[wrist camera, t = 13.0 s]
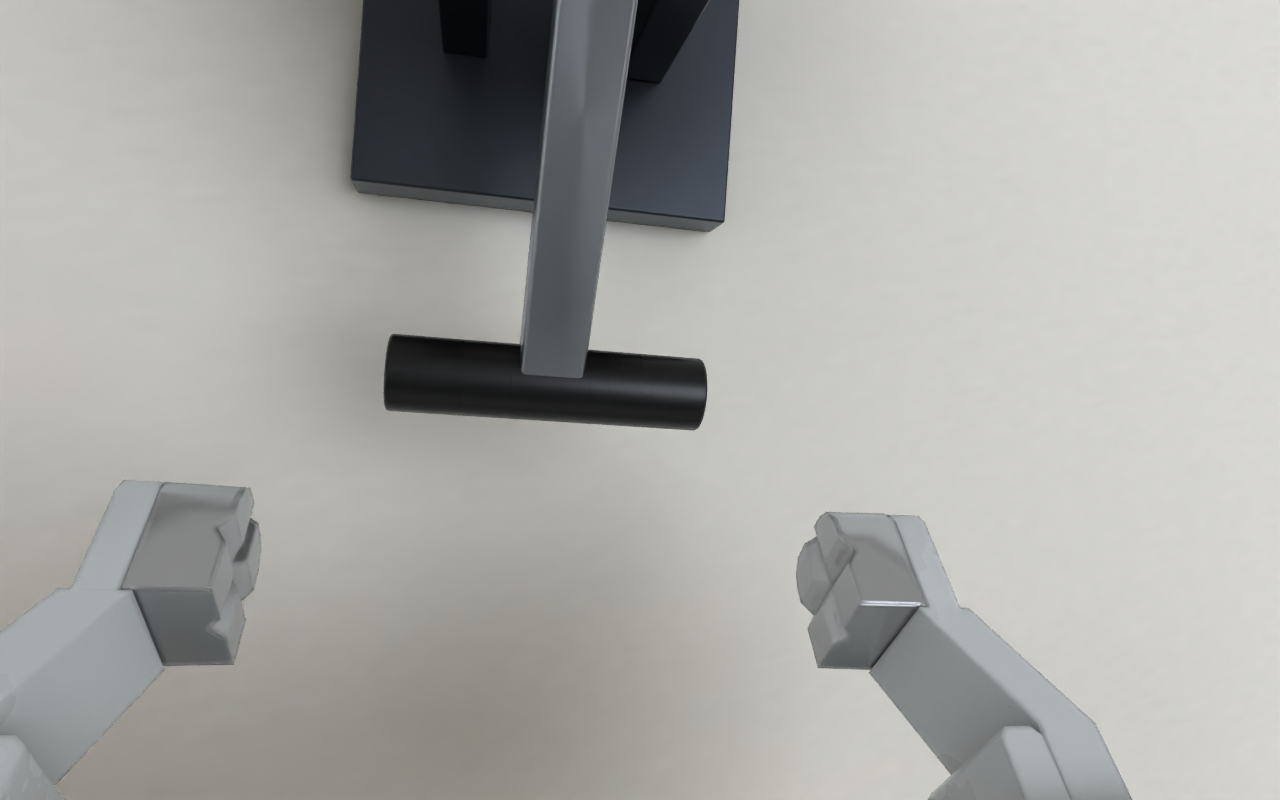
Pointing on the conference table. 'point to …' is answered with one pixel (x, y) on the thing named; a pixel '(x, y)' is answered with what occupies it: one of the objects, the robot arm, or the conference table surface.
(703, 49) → the lever bracket
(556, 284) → the lever
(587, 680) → the conference table surface
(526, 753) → the conference table surface
